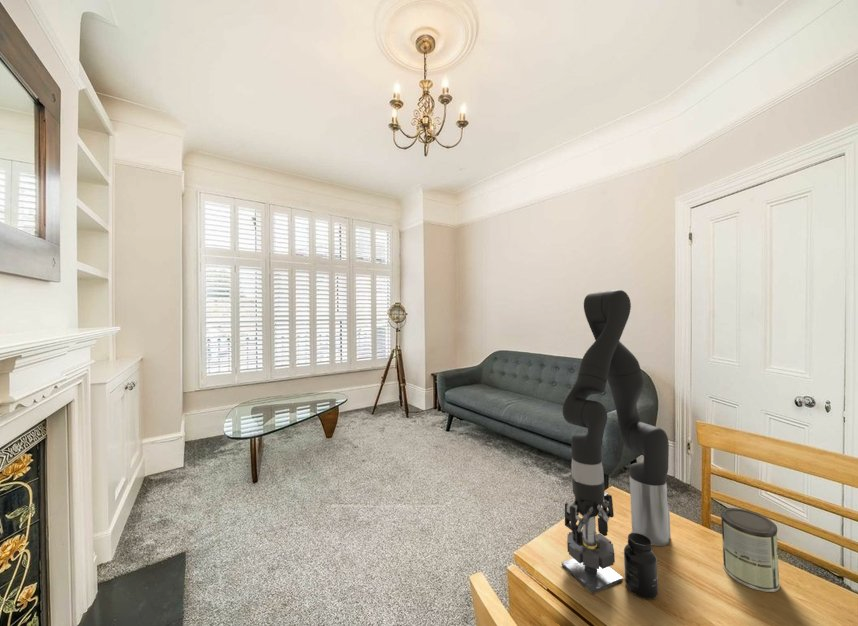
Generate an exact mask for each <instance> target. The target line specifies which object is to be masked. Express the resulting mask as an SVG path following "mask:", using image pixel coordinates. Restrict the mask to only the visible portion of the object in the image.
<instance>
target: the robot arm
mask: <svg viewBox="0 0 858 626" xmlns="http://www.w3.org/2000/svg"><path fill="white" fill-rule="evenodd" d="M631 304H632V303H631V299H630V296H629V295H628V293H627V292H626V291H624V290H622V289H612V290H611V289H610V290H604V291H598V292H591V293H589V294H587V295H586V296H585V297H584V300H583V310H584V311H583V312H584V315H585V318H586V321H587V324H588V326H589V328H590V331H591V333H592V335H593V337H594V342H592V344H591V345H590V347H589V348H588V349H587V350H586V352H585V353H584V354H583V357H582V358H581V362H580V367H579V370H578V373H577V378H576V381H575V383H574V384H573V386H572V388H571V390H570V391H569V392H568V395H567V397H566V398H565V400H564V402H563V404H562V416H563V419H564V420H565V422H566V423H568V424H571V425H574V426H579V427H582V428H585V429H587V433H575V434H574V435H572V437H571V443H570V445H571V464H570V466H571V485H572V493H573V495H574V502H573V503H569V502H565V503H564V526H565V527H566V528H568V529H569V530H570V532H572V536H573V541H574V542H575V543H576V544H577V545H579V546H581V545H582V529H583V525H584V524H586V523H587V520H588V519H589V518H591V517H594V516H595V517H597V531H598V534H599V533H600V534H601V535H603V536H604V537H606V536H608V531H609V527H608V525H609V524H608V522H609V519H610V518H611V519H612V518H614V514H615V513H614V507H613V506H614V505H613V504H614V503H613V496H612V495H611V494H609V493H608V492H606V491H605V477H604V476H605V475H604V467H603V461H602V460H603V457H602V443H603V437H604V433H605V429H606V425H607V421H608V412H607V409H606V407H605V405H604V404H602V402H599V401H597V400H596V401H595V400H591V399H587V398H588V397H589V396H592V395H599V394H603V393H604V392H605V390H606V386H607V383H608V386H609V388H610V392H611V396H612V400H613V403H614V407H615V411H616V416H617V417H616V418H617V422H618V428H619V434H620V438H621V441H622V443H623V445H624V446H625V447H626V448H627V449H628V450H630V451H632V452H634V453H635V454H636V453H637V454H638V455H641V456H643V462H641V461H640V462H639V461H637V462H634V463H632V464H630V465H629V467H628V470H629V490H630V493H629V494H630V514H631V533H638V534H642V535H644V536H646V537H647V538H649V539H650V541H651V546H656V547H663V546H667V545H668V544H669V542H670V539H671V515H670V505H669V504H668V492H667V491H668V490H667V477H668V473H669V456H670V455H669V451H670V450H669V448H670V446H669V445H670V444H669V438H668V434H667V433H666V431H665V430H664V429H662V428H661V427H657V426H654V425H652V424H649V423H646V422H642V420H641V419H640V415H639V412H638V407H637V405H638V404H637V403H638V402H639V399H640V397H641V396H642V395H641V394H642V392H643V390H644V386H645V385H644V384H645V381H644V376H643V373H642V370H641V366H640V363H639V360H638V359H637V357H636V356H635V355H634V354H633V353H632V352H631V351H630V350H629V349H628V348H627V347H626V346H625V345H624V344H623V343H622V342H621V341H620V340H621V337H622V335H623V332H624V330H625V328H626V325H627V323H628V320H629V317H630V314H631V309H632V308H631V307H632V305H631ZM579 514H580V516H583V517H580V516H579Z"/></svg>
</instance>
